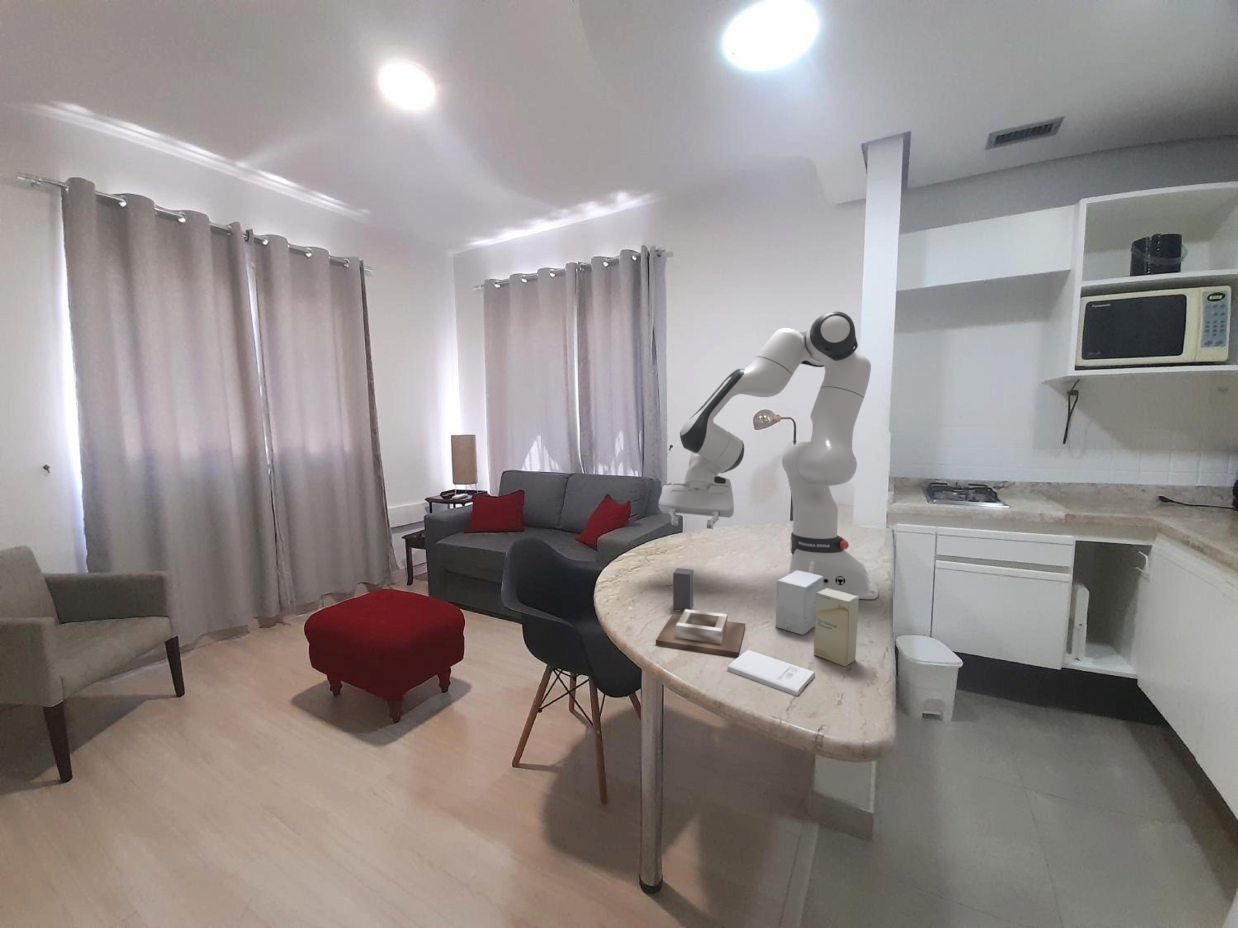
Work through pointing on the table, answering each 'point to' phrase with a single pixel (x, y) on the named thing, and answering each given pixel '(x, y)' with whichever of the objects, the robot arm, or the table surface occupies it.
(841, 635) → the skincare box
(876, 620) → the table surface
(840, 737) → the table surface
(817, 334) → the robot arm
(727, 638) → the socket board
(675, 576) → the plug
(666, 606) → the table surface
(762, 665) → the external hard drive
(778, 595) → the skincare box
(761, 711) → the table surface
